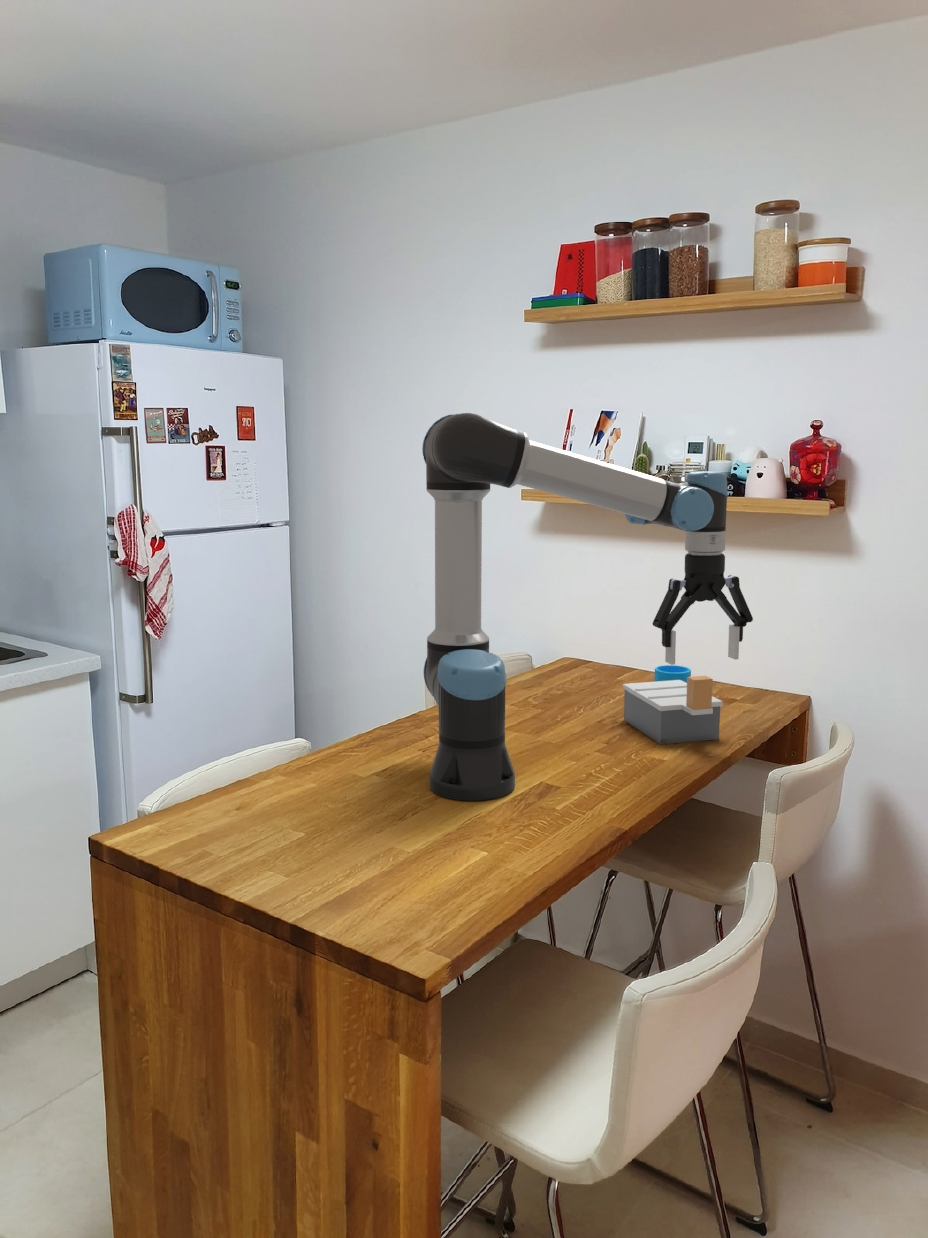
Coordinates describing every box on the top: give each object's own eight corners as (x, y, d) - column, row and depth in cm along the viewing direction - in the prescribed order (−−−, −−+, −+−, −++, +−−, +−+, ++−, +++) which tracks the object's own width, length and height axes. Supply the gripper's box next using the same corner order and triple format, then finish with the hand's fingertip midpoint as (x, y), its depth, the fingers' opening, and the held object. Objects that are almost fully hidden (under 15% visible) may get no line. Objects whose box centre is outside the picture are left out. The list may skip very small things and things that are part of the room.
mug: (684, 710, 217) (685, 674, 215) (649, 705, 221) (650, 671, 219) (698, 697, 227) (699, 664, 226) (664, 693, 231) (665, 660, 229)
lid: (670, 717, 186) (671, 682, 185) (622, 688, 208) (623, 657, 207) (733, 711, 189) (735, 677, 188) (679, 684, 211) (680, 653, 210)
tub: (660, 744, 192) (661, 710, 191) (623, 719, 209) (624, 688, 208) (718, 739, 195) (720, 705, 194) (678, 715, 212) (679, 684, 211)
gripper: (653, 557, 177) (651, 669, 181) (773, 551, 183) (769, 659, 187) (636, 553, 184) (635, 661, 188) (752, 547, 190) (748, 652, 194)
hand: (701, 660), depth 187 cm, fingers open, 13 cm apart
